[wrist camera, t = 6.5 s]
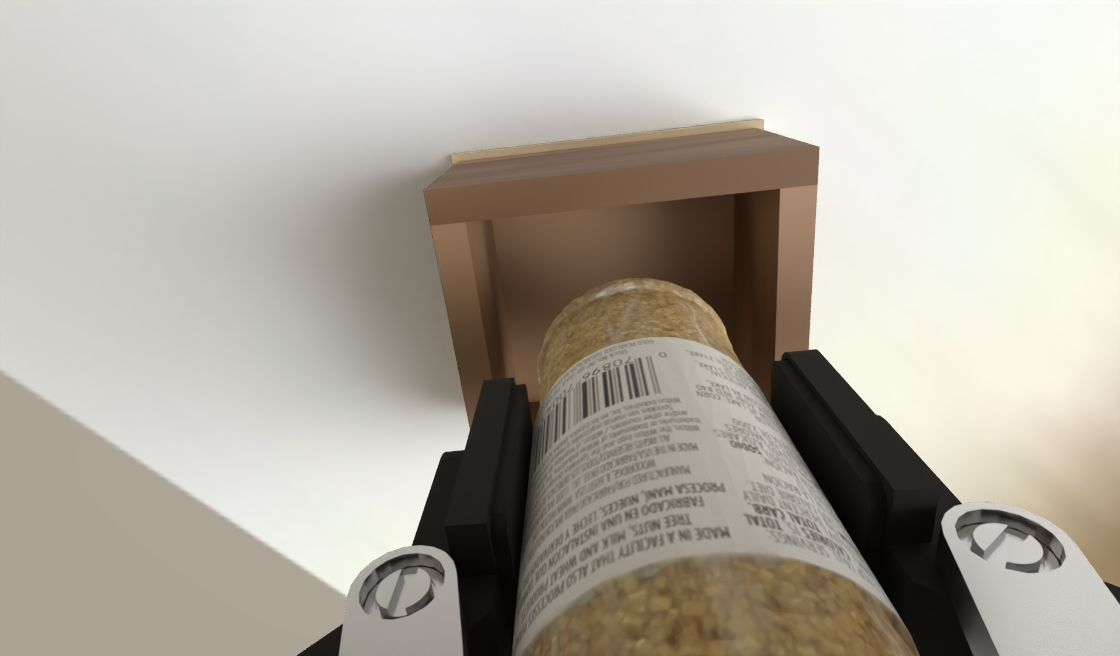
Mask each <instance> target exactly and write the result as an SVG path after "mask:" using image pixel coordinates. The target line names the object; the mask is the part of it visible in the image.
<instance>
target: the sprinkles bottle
mask: <svg viewBox="0 0 1120 656" xmlns="http://www.w3.org/2000/svg"><path fill="white" fill-rule="evenodd" d="M537 380H538V387H539V391H540V408H539V410H538V413H537V417H536V420H535V424H534V428H533V435H532V447H531V457H530V466H529V477H528V488H527V498H526V507H525V517H524V527H523V538H522V548H521V559H520V570H519V580H518V591H517V602H516V614H515V625H514V636H513V649H512V656H920V655H919V653H918V651H917V648H916V646H915V644H914V641H913V639H912V637H911V635H910V633H909V631H908V630H907V628H906V626H905V625H904V623H903V621H902V620H901V618H900V616H899V615H898V613H897V612H896V610H895V608H894V607H893V605H892V603H891V602H890V600H889V599H888V597H887V595H886V594H885V592H884V591H883V589H882V587H881V586H880V584H879V583H878V581H877V579H876V578H875V576H874V574H873V573H872V571H871V570H870V568H869V566H868V565H867V563H866V562H865V560H864V558H863V557H862V555H861V554H860V552H859V550H858V549H857V547H856V545H855V544H854V542H853V541H852V539H851V537H850V536H849V534H848V533H847V531H846V529H845V528H844V526H843V524H842V523H841V521H840V519H839V518H838V516H837V514H836V513H835V511H834V510H833V508H832V506H831V505H830V503H829V501H828V500H827V498H826V496H825V495H824V493H823V491H822V490H821V488H820V486H819V485H818V483H817V481H816V480H815V478H814V476H813V475H812V473H811V472H810V470H809V468H808V467H807V465H806V463H805V462H804V460H803V458H802V457H801V455H800V453H799V452H798V450H797V448H796V447H795V445H794V443H793V442H792V440H791V438H790V437H789V435H788V433H787V432H786V430H785V429H784V427H783V425H782V424H781V422H780V420H779V419H778V417H777V415H776V414H775V412H774V411H773V409H772V407H771V406H770V404H769V402H768V401H767V399H766V397H765V396H764V394H763V392H762V391H761V389H760V387H759V386H758V385H757V383H756V382H755V381H754V380H753V379H752V377H751V376H750V375H749V374H748V373H747V372H746V371H745V369H744V368H743V366H742V364H741V363H740V361H739V360H738V357H737V356H736V354H735V352H734V351H733V348H732V345H731V343H730V340H729V338H728V336H727V332H726V328H725V326H724V324H723V323H722V321H721V319H720V318H719V316H718V315H717V314H716V312H715V311H714V310H713V308H712V307H711V306H709V305H708V304H707V303H706V302H704V301H703V300H702V299H701V298H700V297H699V296H698V295H696V294H695V293H694V292H693V291H691V290H689V289H686V288H682V287H681V286H678V285H676V284H674V283H671V282H667V281H661V280H656V279H652V278H627V279H618V280H613V281H611V282H608V283H606V284H603V285H600V286H597V287H595V288H593V289H591V290H589V291H587V292H586V293H585V294H584V295H582V296H581V297H578V298H576V299H574V300H573V301H572V302H570V303H569V304H568V305H567V306H566V307H565V308H564V309H563V310H562V312H561V313H560V314H559V315H558V316H557V317H556V318H555V320H554V321H553V322H552V324H551V326H550V327H549V329H548V330H547V332H546V335H545V338H544V341H543V345H542V349H541V351H540V353H539V355H538V361H537Z"/></svg>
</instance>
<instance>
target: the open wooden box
mask: <svg viewBox="0 0 1120 656" xmlns="http://www.w3.org/2000/svg"><path fill="white" fill-rule="evenodd" d="M451 159H452V165H453V166H452V167H451V168H450V169H449V170H448V171H446V172H445V173H444V174H443V175H442V176H440V177H439V178H438V179H437V180H436V181H434V182H433V183H432V184H431V185H429V186H428V187H427V188H426V189H425V190H423V191H424V196H425V201H426V206H427V211H428V216H429V221H430V226H431V232H432V237H433V242H434V247H435V252H436V257H437V262H438V267H439V273H440V278H441V283H442V288H443V293H444V298H445V303H446V308H447V314H448V319H449V324H450V329H451V334H452V339H453V344H454V349H455V355H456V360H457V365H458V370H459V375H460V380H461V385H462V391H463V396H464V401H465V406H466V411H467V416H468V421H469V426H470V429H471V425H472V421H473V418H474V414H475V410H476V407H477V403H478V399H479V396H480V392H481V388H482V385H483V381H484V380H490V379H501V378H512V377H514V379H515V383H516V385H518V384H526V387H527V393H528V399H529V406H530V413H531V420H532V426H533V428H534V424H535V420H536V417H537V413H538V410H539V408H540V391H539V387H538V380H537V361H538V355H539V353H540V351H541V349H542V345H543V341H544V338H545V335H546V332H547V330H548V329H549V327H550V326H551V324H552V322H553V321H554V320H555V318H556V317H557V316H558V315H559V314H560V313H561V312H562V310H563V309H564V308H565V307H566V306H567V305H568V304H569V303H570V302H572V301H573V300H574V299H576V298H578V297H581V296H582V295H584V294H585V293H586V292H587V291H589V290H591V289H593V288H595V287H597V286H600V285H603V284H606V283H608V282H611V281H613V280H618V279H627V278H652V279H656V280H661V281H667V282H671V283H674V284H676V285H678V286H681V287H682V288H686V289H689V290H691V291H693V292H694V293H695V294H696V295H698V296H699V297H700V298H701V299H702V300H703V301H704V302H706V303H707V304H708V305H709V306H711V307H712V308H713V310H714V311H715V312H716V314H717V315H718V316H719V318H720V319H721V321H722V323H723V324H724V326H725V328H726V332H727V336H728V338H729V340H730V343H731V345H732V348H733V351H734V352H735V354H736V356H737V357H738V360H739V361H740V363H741V364H742V366H743V368H744V369H745V371H746V372H747V373H748V374H749V375H750V376H751V377H752V379H753V380H754V381H755V382H756V383H757V385H758V386H759V387H760V389H761V391H762V392H763V394H764V396H765V397H766V399H767V401H768V402H769V404H770V394H771V366H772V363H773V361H780V360H781V358H782V355H783V353H784V352H793V351H804V350H809V331H810V313H811V294H812V276H813V257H814V239H815V220H816V202H817V183H818V165H819V147H818V146H814V145H811V144H808V143H805V142H801V141H798V140H795V139H791V138H788V137H785V136H781V135H778V134H775V133H772V132H768V131H765V130H764V120H763V119H756V120H747V121H739V122H730V123H721V124H712V125H703V126H694V127H685V128H677V129H668V130H659V131H650V132H641V133H632V134H623V135H614V136H606V137H597V138H588V139H579V140H570V141H561V142H552V143H543V144H535V145H526V146H517V147H508V148H499V149H490V150H481V151H473V152H464V153H455V154H452V155H451Z"/></svg>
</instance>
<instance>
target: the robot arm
mask: <svg viewBox="0 0 1120 656" xmlns="http://www.w3.org/2000/svg"><path fill="white" fill-rule="evenodd" d="M770 406H771V407H772V409H773V411H774V412H775V414H776V415H777V417H778V419H779V420H780V422H781V424H782V425H783V427H784V429H785V430H786V432H787V433H788V435H789V437H790V438H791V440H792V442H793V443H794V445H795V447H796V448H797V450H798V452H799V453H800V455H801V457H802V458H803V460H804V462H805V463H806V465H807V467H808V468H809V470H810V472H811V473H812V475H813V476H814V478H815V480H816V481H817V483H818V485H819V486H820V488H821V490H822V491H823V493H824V495H825V496H826V498H827V500H828V501H829V503H830V505H831V506H832V508H833V510H834V511H835V513H836V514H837V516H838V518H839V519H840V521H841V523H842V524H843V526H844V528H845V529H846V531H847V533H848V534H849V536H850V537H851V539H852V541H853V542H854V544H855V545H856V547H857V549H858V550H859V552H860V554H861V555H862V557H863V558H864V560H865V562H866V563H867V565H868V566H869V568H870V570H871V571H872V573H873V574H874V576H875V578H876V579H877V581H878V583H879V584H880V586H881V587H882V589H883V591H884V592H885V594H886V595H887V597H888V599H889V600H890V602H891V603H892V605H893V607H894V608H895V610H896V612H897V613H898V615H899V616H900V618H901V620H902V621H903V623H904V625H905V626H906V628H907V630H908V631H909V633H910V635H911V637H912V639H913V641H914V644H915V646H916V648H917V651H918V653H919V655H920V656H1120V587H1117V586H1115V585H1112V584H1109V583H1107V582H1104V581H1102V579H1101V578H1100V577H1099V575H1098V574H1097V572H1096V571H1095V570H1094V568H1093V567H1092V565H1091V564H1090V563H1089V561H1088V560H1087V559H1086V557H1085V556H1084V554H1083V553H1082V552H1081V550H1080V549H1079V547H1078V546H1077V545H1076V543H1075V542H1074V541H1073V540H1072V539H1071V538H1070V537H1069V536H1068V535H1067V534H1066V533H1065V532H1064V531H1063V530H1061V529H1060V528H1058V527H1057V526H1055V525H1054V524H1052V523H1051V522H1049V521H1048V520H1046V519H1044V518H1042V517H1040V516H1037V515H1035V514H1033V513H1031V512H1029V511H1026V510H1023V509H1020V508H1016V507H1013V506H1009V505H1006V504H999V503H992V502H968V503H964V504H962V503H961V502H960V501H959V500H958V499H957V498H956V497H955V496H954V494H953V493H952V492H951V491H950V490H949V489H948V488H947V487H946V486H945V485H944V483H943V482H942V481H941V480H940V479H939V478H938V477H937V476H936V475H935V474H934V472H933V471H932V470H931V469H930V468H929V467H928V466H927V465H926V464H925V463H924V461H923V460H922V459H921V458H920V457H919V456H918V455H917V454H916V453H915V452H914V451H913V449H912V448H911V447H910V446H909V445H908V444H907V443H906V442H905V441H904V440H903V438H902V437H901V436H900V435H899V434H898V433H897V432H896V431H895V430H894V429H893V427H892V426H891V425H890V424H889V423H888V422H887V421H886V420H885V419H884V418H882V417H881V416H879V415H876V414H875V413H874V412H873V411H872V410H871V409H870V408H869V406H868V405H867V404H866V403H865V402H864V401H863V400H862V399H861V398H860V396H859V395H858V394H857V393H856V392H855V391H854V390H853V389H852V388H851V386H850V385H849V384H848V383H847V382H846V381H845V380H844V379H843V377H842V376H841V375H840V374H839V373H838V372H837V371H836V370H835V369H834V367H833V366H832V365H831V364H830V363H829V362H828V361H827V360H826V358H825V357H824V356H823V355H822V354H821V353H820V352H819V351H818V350H817V349H815V350H804V351H793V352H784V353H783V355H782V358H781V360H780V361H773V363H772V366H771V394H770ZM532 435H533V426H532V420H531V413H530V406H529V399H528V393H527V387H526V384H518V385H516V383H515V379H514V377H512V378H501V379H490V380H484V381H483V385H482V388H481V392H480V396H479V399H478V403H477V407H476V410H475V414H474V418H473V421H472V425H471V429H470V432H469V436H468V440H467V443H466V447H465V450H462V451H451V452H445V453H443V455H442V457H441V459H440V462H439V465H438V468H437V471H436V474H435V477H434V480H433V483H432V486H431V489H430V492H429V495H428V498H427V501H426V504H425V507H424V510H423V513H422V516H421V520H420V523H419V526H418V529H417V532H416V535H415V538H414V541H413V544H412V546H409V547H403V548H400V549H397V550H394V551H391V552H388V553H386V554H384V555H383V556H381V557H379V558H377V559H376V560H374V561H372V562H371V563H370V564H369V565H368V566H367V567H365V568H364V569H363V570H362V571H361V572H360V573H359V574H358V576H357V577H356V579H355V580H354V581H353V583H352V584H351V587H350V590H349V593H348V596H347V600H346V607H345V615H344V622H343V624H342V625H340V626H339V627H337V628H336V629H335V630H333V631H332V632H330V633H329V634H327V635H326V636H324V637H323V638H322V639H320V640H319V641H317V642H316V643H314V644H313V645H311V646H310V647H308V648H307V649H306V650H304V651H303V652H301V653H300V654H298V655H297V656H512V649H513V636H514V625H515V614H516V602H517V591H518V580H519V570H520V559H521V548H522V538H523V527H524V517H525V507H526V498H527V488H528V477H529V466H530V457H531V447H532Z"/></svg>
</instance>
